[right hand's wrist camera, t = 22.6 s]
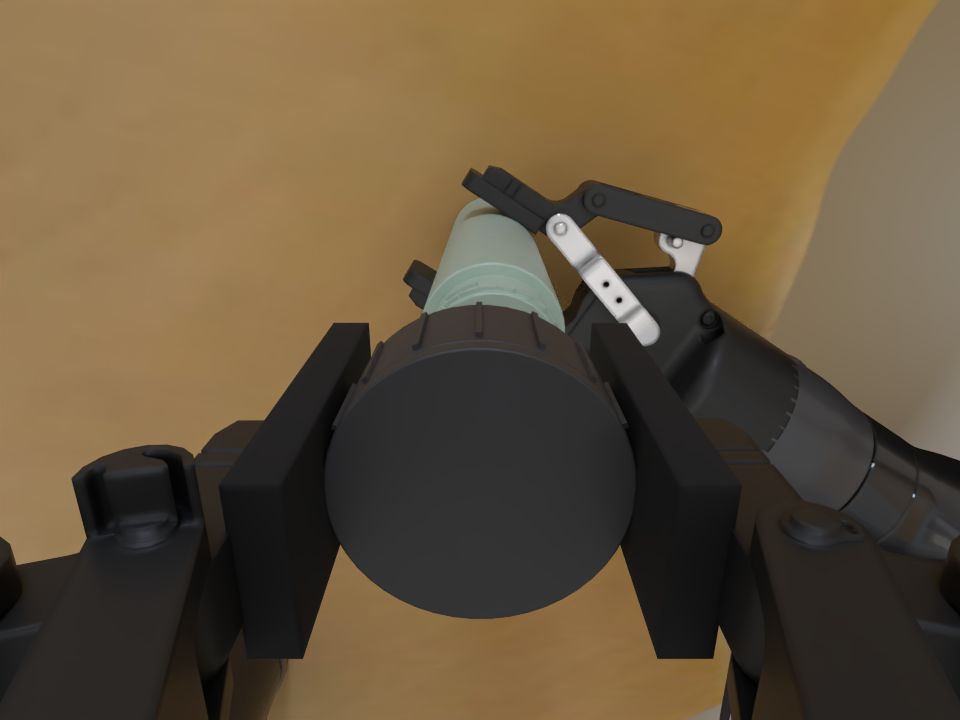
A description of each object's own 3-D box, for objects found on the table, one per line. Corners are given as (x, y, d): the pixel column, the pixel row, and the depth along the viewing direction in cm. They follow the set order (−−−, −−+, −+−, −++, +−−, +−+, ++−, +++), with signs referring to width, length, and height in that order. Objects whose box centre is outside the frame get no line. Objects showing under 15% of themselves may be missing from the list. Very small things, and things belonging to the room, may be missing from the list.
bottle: (542, 215, 34) (603, 320, 16) (509, 284, 35) (530, 455, 17) (471, 182, 33) (449, 251, 15) (440, 254, 35) (387, 397, 17)
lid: (643, 329, 11) (681, 378, 9) (576, 555, 13) (594, 641, 11) (366, 277, 11) (338, 316, 9) (335, 516, 13) (305, 597, 11)
